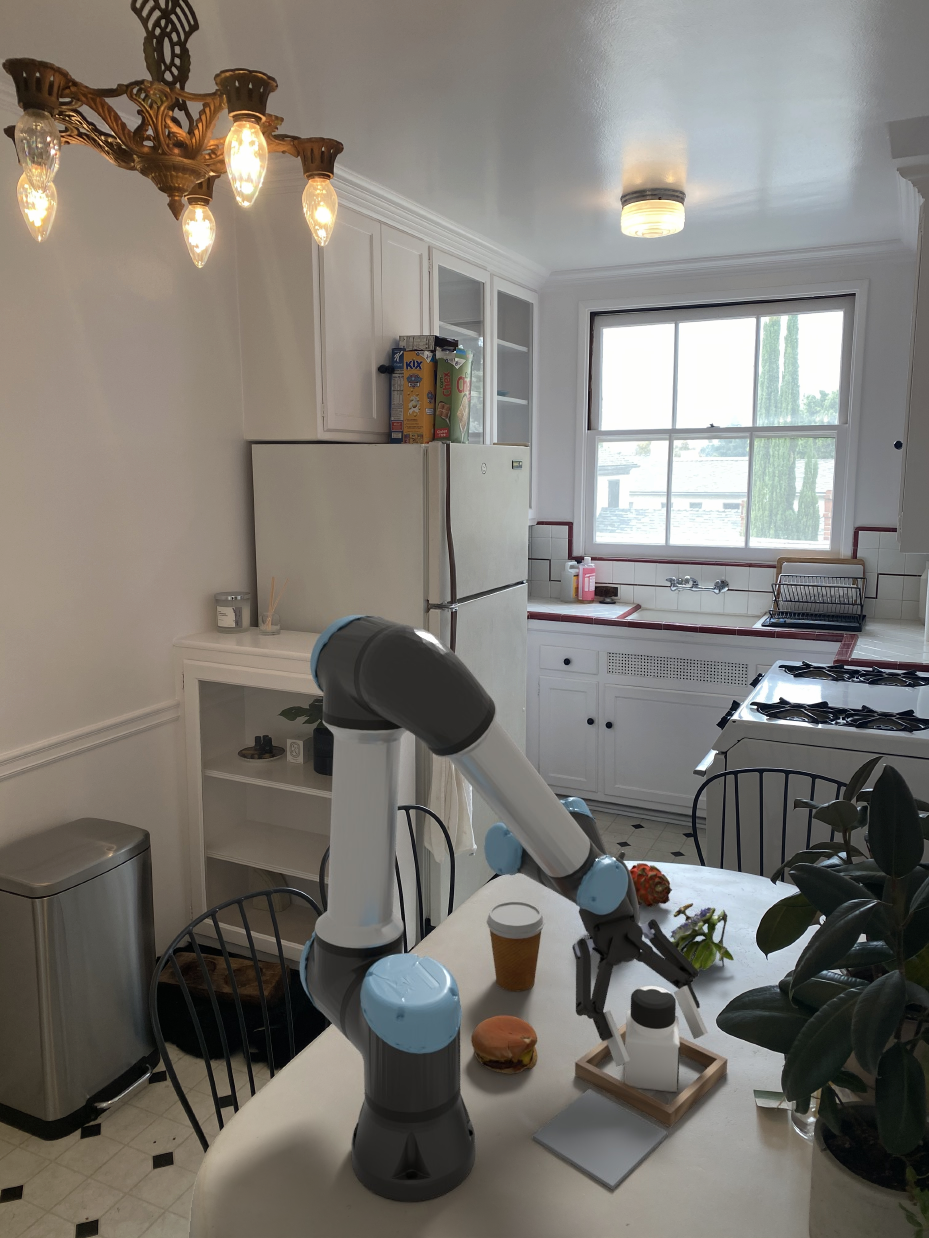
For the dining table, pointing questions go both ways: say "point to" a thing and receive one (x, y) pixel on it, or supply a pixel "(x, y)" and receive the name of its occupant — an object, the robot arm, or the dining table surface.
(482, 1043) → the burger
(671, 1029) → the medicine bottle
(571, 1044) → the dining table surface
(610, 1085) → the walnut caddy
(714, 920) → the passion flower
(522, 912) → the disposable coffee cup
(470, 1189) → the dining table surface
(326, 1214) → the dining table surface
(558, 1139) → the slate mat
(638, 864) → the dragon fruit
